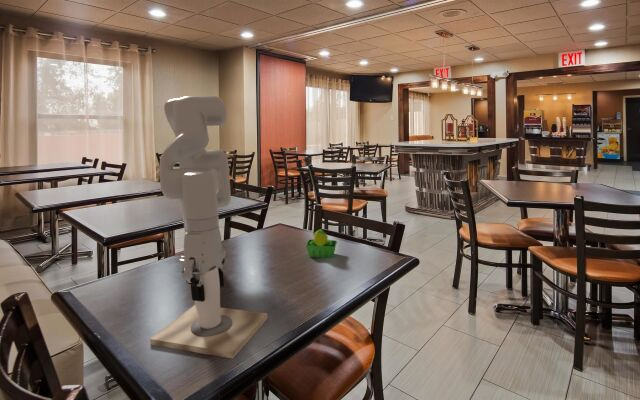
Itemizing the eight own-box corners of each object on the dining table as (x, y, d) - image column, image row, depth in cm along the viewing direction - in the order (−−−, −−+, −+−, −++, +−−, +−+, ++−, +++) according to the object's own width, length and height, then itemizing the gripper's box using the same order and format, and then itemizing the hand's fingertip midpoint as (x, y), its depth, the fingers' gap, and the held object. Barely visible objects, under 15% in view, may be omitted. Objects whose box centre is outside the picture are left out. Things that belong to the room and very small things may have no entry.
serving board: (150, 344, 90) (149, 337, 89) (195, 309, 107) (195, 303, 106) (233, 358, 83) (232, 351, 83) (267, 318, 100) (267, 312, 100)
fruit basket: (337, 252, 150) (337, 225, 148) (334, 260, 142) (333, 231, 139) (309, 251, 152) (308, 224, 150) (304, 259, 144) (303, 230, 142)
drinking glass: (199, 318, 98) (192, 263, 94) (226, 316, 98) (219, 261, 95) (193, 332, 91) (185, 274, 88) (222, 330, 91) (215, 271, 88)
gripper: (209, 214, 99) (214, 277, 102) (164, 233, 82) (172, 307, 86) (234, 215, 97) (239, 280, 100) (193, 235, 80) (201, 311, 84)
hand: (208, 292), depth 93 cm, fingers open, 7 cm apart
